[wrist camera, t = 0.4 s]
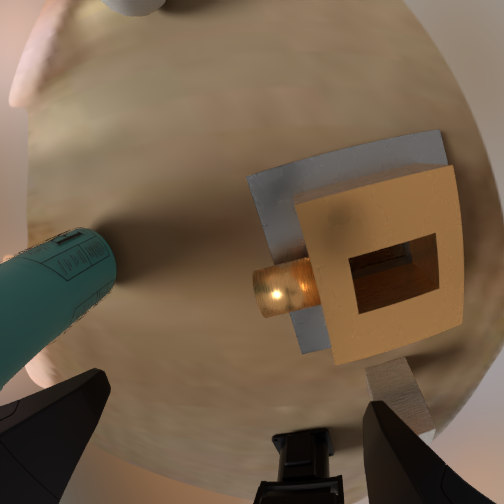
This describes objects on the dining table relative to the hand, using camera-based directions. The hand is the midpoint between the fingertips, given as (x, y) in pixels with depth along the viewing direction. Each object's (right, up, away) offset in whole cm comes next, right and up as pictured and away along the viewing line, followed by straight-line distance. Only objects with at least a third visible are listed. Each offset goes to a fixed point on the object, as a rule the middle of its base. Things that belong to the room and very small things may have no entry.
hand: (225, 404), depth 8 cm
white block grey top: (+13, -7, +15) cm, 21 cm away
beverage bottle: (-13, +4, +15) cm, 20 cm away
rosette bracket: (+9, +5, +11) cm, 16 cm away
